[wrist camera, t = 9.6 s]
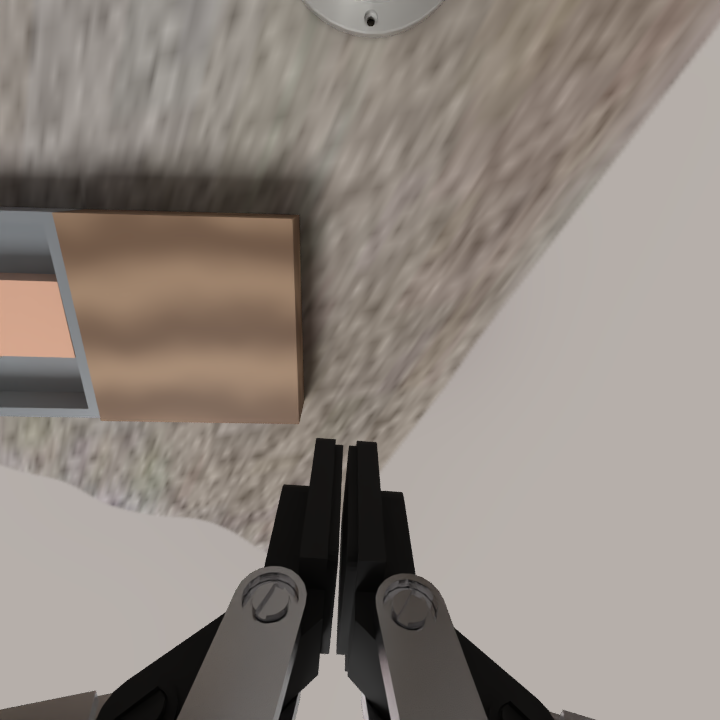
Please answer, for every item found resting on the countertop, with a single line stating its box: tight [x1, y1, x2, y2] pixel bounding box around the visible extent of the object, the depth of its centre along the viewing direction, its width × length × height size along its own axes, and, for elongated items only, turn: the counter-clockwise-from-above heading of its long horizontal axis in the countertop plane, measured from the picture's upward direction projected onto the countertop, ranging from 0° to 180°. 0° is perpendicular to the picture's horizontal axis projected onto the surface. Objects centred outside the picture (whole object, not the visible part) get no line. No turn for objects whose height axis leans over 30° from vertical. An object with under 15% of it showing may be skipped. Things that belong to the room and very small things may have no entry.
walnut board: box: [52, 209, 304, 424], centre depth 34 cm, size 16×16×4 cm
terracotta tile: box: [0, 273, 76, 358], centre depth 34 cm, size 6×6×2 cm
